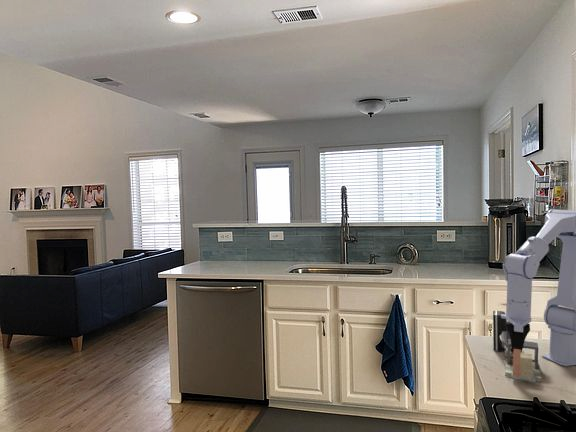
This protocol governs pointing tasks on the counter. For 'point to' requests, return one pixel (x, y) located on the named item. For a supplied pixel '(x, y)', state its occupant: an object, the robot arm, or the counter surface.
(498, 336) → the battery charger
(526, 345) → the grey box
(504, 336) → the tin
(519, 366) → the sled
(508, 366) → the track board
